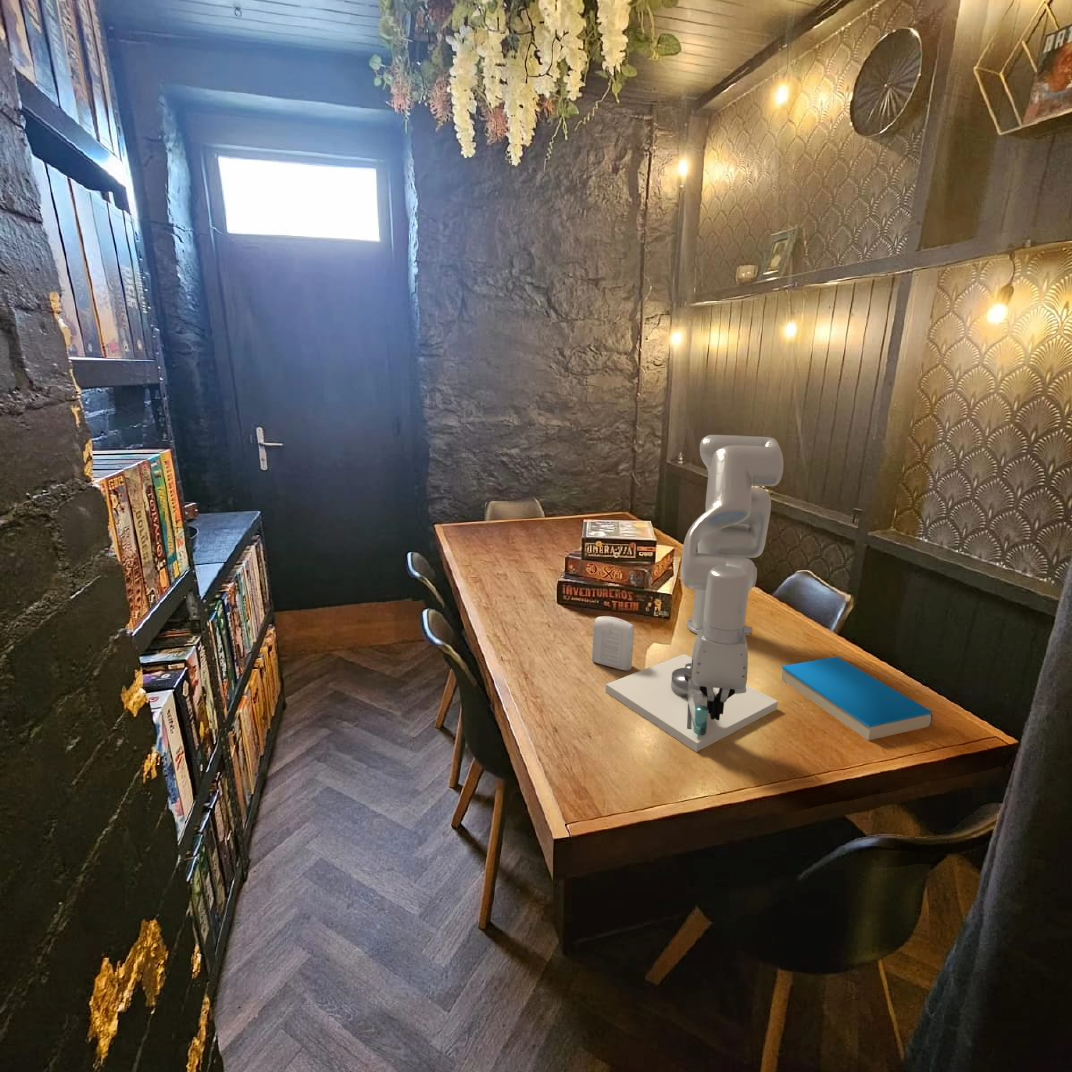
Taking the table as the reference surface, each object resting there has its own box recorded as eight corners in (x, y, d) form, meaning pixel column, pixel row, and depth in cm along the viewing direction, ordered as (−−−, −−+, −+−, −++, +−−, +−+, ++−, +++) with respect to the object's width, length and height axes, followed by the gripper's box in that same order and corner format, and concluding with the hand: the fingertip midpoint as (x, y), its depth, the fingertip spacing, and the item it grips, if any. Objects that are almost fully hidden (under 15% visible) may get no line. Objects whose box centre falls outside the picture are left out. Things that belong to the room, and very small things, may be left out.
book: (870, 726, 112) (781, 665, 135) (866, 745, 114) (778, 681, 136) (935, 711, 118) (838, 654, 140) (931, 729, 119) (835, 670, 141)
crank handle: (669, 678, 132) (671, 654, 130) (705, 681, 131) (707, 657, 129) (678, 736, 111) (681, 709, 109) (721, 740, 109) (724, 712, 108)
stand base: (683, 661, 144) (684, 653, 144) (776, 709, 124) (778, 700, 123) (605, 692, 130) (606, 683, 130) (696, 752, 110) (697, 742, 109)
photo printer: (634, 665, 142) (637, 619, 139) (628, 673, 139) (631, 625, 135) (596, 655, 147) (598, 610, 144) (589, 662, 143) (590, 616, 140)
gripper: (760, 626, 111) (749, 709, 116) (681, 620, 114) (674, 702, 119) (768, 643, 104) (757, 731, 109) (684, 636, 107) (676, 722, 112)
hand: (714, 715), depth 114 cm, fingers closed
